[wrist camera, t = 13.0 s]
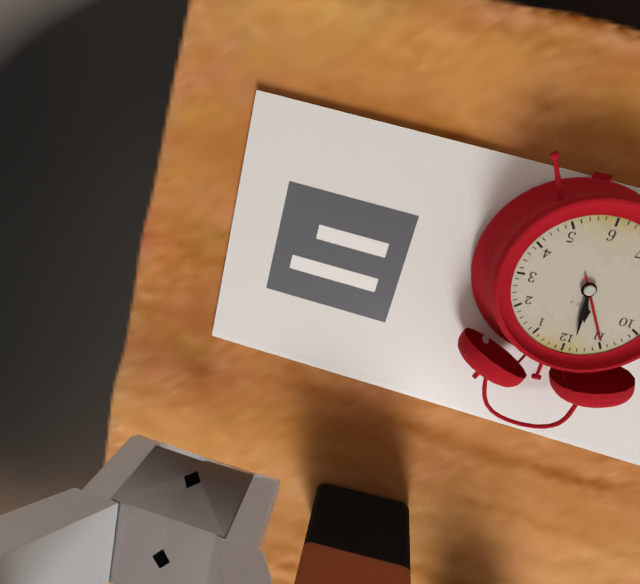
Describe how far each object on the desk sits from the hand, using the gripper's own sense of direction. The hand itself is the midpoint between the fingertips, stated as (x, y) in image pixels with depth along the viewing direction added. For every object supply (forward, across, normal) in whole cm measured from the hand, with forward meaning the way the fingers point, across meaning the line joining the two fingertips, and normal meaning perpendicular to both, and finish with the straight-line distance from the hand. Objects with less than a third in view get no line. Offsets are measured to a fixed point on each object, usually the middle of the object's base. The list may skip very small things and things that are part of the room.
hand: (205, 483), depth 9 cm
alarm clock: (+21, -13, -1) cm, 25 cm away
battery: (+21, -6, +19) cm, 29 cm away
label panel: (+21, -8, 0) cm, 23 cm away
